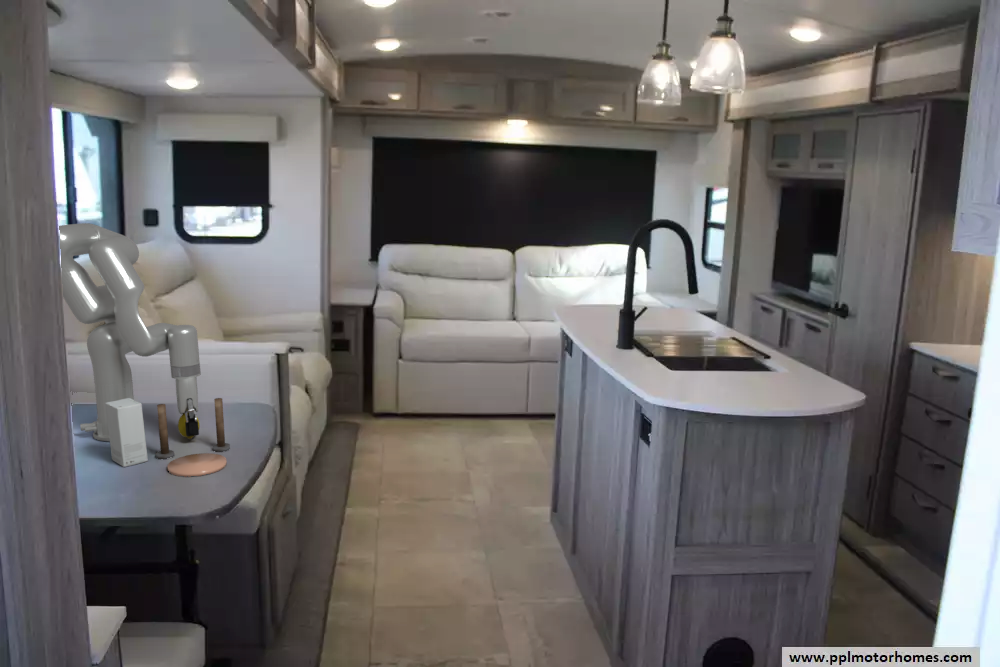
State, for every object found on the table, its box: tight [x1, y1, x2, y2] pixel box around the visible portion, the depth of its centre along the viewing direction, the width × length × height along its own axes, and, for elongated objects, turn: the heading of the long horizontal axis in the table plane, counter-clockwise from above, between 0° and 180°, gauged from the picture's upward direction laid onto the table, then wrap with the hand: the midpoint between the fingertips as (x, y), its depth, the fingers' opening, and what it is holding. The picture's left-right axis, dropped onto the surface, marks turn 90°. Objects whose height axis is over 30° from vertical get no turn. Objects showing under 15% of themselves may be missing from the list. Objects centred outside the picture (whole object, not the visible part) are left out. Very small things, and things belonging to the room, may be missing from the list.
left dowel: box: [155, 403, 175, 460], centre depth 213 cm, size 4×4×14 cm
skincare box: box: [105, 398, 149, 468], centre depth 209 cm, size 8×7×16 cm
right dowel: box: [212, 397, 231, 453], centre depth 219 cm, size 4×4×14 cm
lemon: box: [177, 413, 201, 440], centre depth 227 cm, size 6×6×8 cm
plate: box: [167, 452, 228, 478], centre depth 207 cm, size 14×14×1 cm
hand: (191, 430), depth 227 cm, fingers open, 9 cm apart
